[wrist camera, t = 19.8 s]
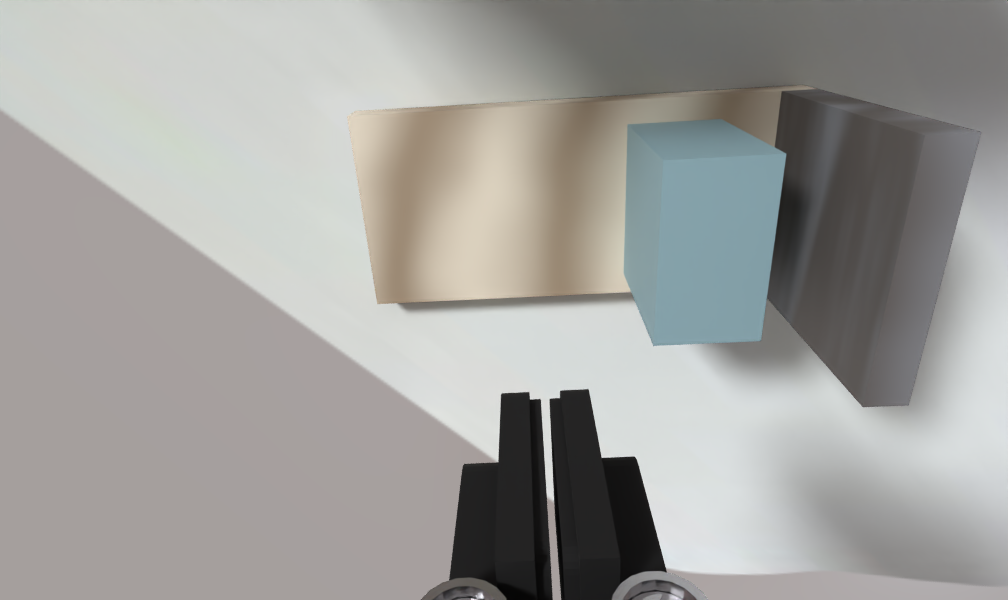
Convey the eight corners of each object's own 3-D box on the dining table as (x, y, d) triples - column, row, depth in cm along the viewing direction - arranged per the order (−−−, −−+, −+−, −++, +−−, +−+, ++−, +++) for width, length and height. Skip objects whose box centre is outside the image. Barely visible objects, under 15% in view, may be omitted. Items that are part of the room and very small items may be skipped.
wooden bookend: (802, 85, 27) (981, 132, 17) (776, 272, 31) (908, 405, 21) (355, 111, 28) (261, 171, 18) (383, 291, 32) (320, 428, 21)
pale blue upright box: (721, 118, 26) (786, 153, 20) (707, 269, 29) (760, 341, 23) (627, 124, 27) (663, 160, 20) (623, 273, 30) (653, 345, 23)
